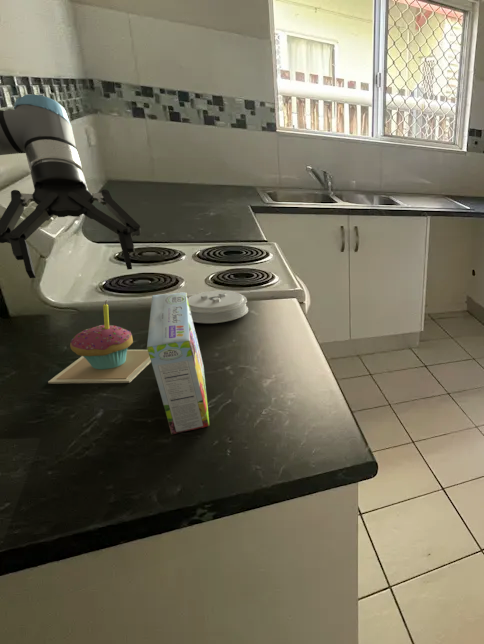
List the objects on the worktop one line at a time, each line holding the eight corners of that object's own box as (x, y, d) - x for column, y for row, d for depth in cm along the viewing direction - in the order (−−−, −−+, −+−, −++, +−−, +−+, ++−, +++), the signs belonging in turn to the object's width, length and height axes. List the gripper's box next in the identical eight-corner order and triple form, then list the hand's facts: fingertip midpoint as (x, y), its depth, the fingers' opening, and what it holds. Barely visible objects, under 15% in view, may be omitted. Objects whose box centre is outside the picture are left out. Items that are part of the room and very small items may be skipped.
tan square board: (48, 383, 79) (47, 381, 79) (91, 351, 90) (90, 348, 90) (129, 382, 82) (129, 380, 82) (162, 351, 92) (161, 349, 92)
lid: (180, 311, 110) (176, 291, 107) (241, 302, 117) (238, 283, 115) (191, 331, 101) (186, 309, 99) (255, 320, 109) (252, 300, 107)
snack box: (168, 371, 86) (150, 294, 80) (204, 366, 89) (189, 290, 83) (168, 436, 70) (144, 346, 64) (212, 427, 73) (193, 339, 67)
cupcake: (135, 349, 91) (120, 290, 86) (140, 368, 85) (124, 306, 80) (77, 359, 86) (57, 297, 81) (77, 380, 80) (56, 315, 75)
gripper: (140, 184, 101) (165, 271, 97) (-32, 184, 85) (-9, 288, 81) (137, 160, 95) (164, 253, 91) (-47, 156, 79) (-24, 267, 76)
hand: (82, 270), depth 86 cm, fingers open, 13 cm apart
